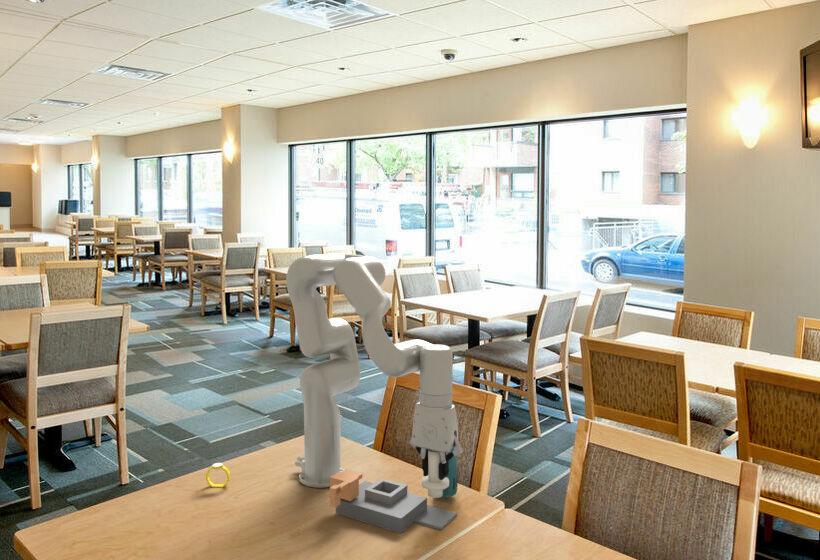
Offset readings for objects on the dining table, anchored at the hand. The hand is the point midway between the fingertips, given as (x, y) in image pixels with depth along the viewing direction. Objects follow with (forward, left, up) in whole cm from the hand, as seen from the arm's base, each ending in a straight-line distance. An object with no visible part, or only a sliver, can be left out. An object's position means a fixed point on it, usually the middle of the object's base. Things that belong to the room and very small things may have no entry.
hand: (435, 475), depth 148 cm
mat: (0, 0, -11) cm, 11 cm away
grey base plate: (-12, -4, -11) cm, 17 cm away
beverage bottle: (-3, +11, -11) cm, 16 cm away
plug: (0, 0, -5) cm, 5 cm away
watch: (-56, -14, -11) cm, 59 cm away
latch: (-20, -10, -7) cm, 23 cm away
